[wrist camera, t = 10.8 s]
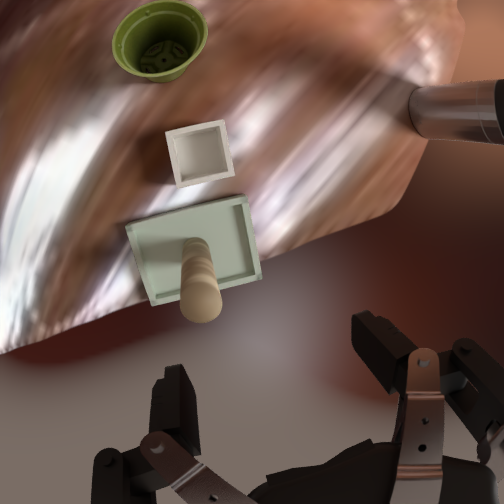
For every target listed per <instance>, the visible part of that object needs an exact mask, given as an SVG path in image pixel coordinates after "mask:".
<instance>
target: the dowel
mask: <svg viewBox="0 0 504 504" xmlns="http://www.w3.org/2000/svg"><path fill="white" fill-rule="evenodd" d="M221 308H222V299H221V295H220V291H219V287H218V283H217V279H216V275H215V271H214V267H213V262H212V258H211V254H210V250H209V246H208V244H207V242H206V241H205V240H204V239H202V238H199V237H193V238H190V239H188V240H187V241H186V242H185V243H184V245H183V248H182V265H181V286H180V309H181V311H182V313H183V315H184V316H185V317H186V318H187V319H189V320H191V321H193V322H197V323H205V322H208V321H211V320H213V319H214V318H216V317H217V316H218V314H219V313H220V311H221Z"/></svg>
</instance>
